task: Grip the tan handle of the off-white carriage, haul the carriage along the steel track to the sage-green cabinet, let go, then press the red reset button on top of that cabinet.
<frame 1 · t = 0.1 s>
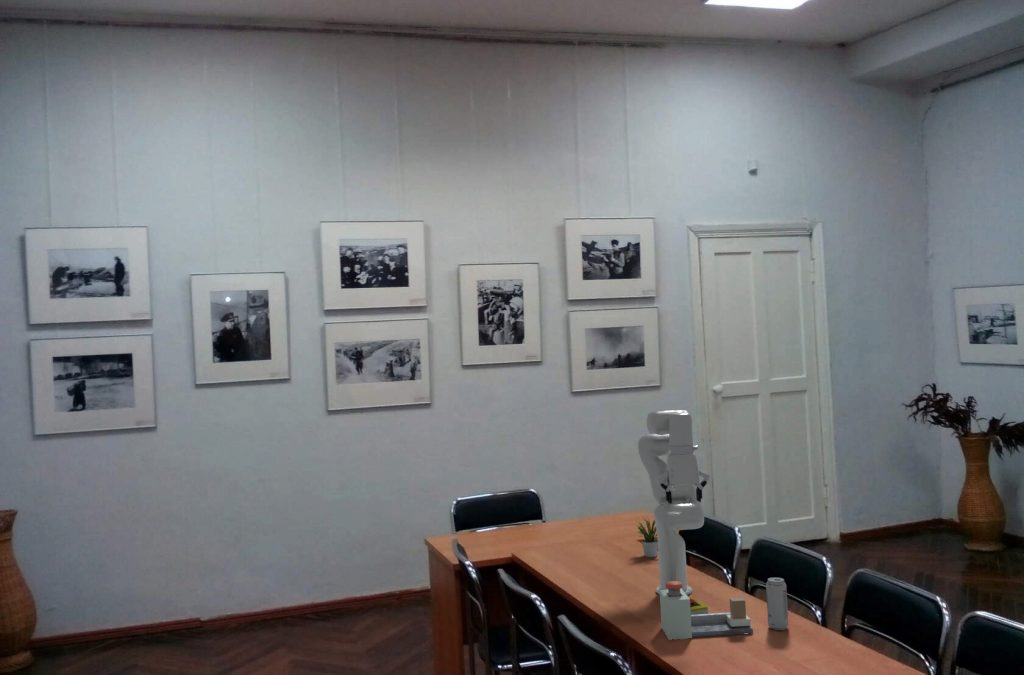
hand: (684, 502, 287), 37 cm above the table, tool pointing down, fingers open, 9 cm apart
energy drink can: (778, 628, 268), on the table
emergency button: (688, 613, 289), on the table
track: (718, 630, 269), on the table
house plant: (653, 555, 363), on the table
reset button: (674, 593, 268), point 12 cm above the table, slide at 0.0 cm
carriage: (738, 611, 269), point 6 cm above the table, slide at 0.0 cm
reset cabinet: (676, 633, 268), on the table
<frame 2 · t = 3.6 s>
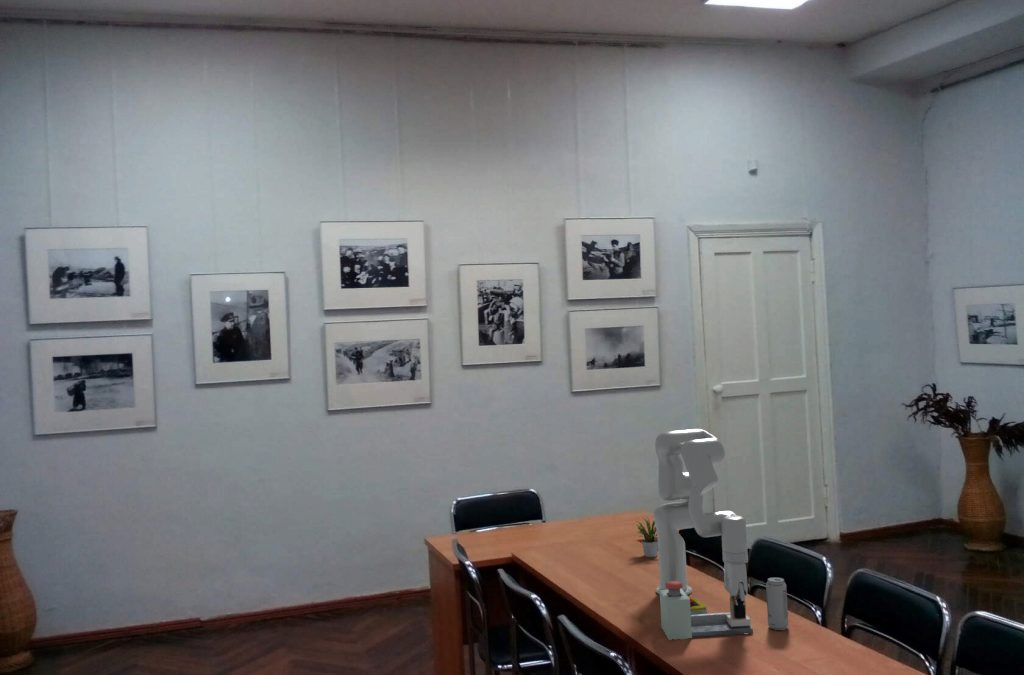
hand: (738, 615, 269), 4 cm above the table, tool pointing down, fingers closed on carriage, 3 cm apart
carriage: (738, 611, 269), point 6 cm above the table, slide at 0.0 cm, touching gripper
everything else where it was.
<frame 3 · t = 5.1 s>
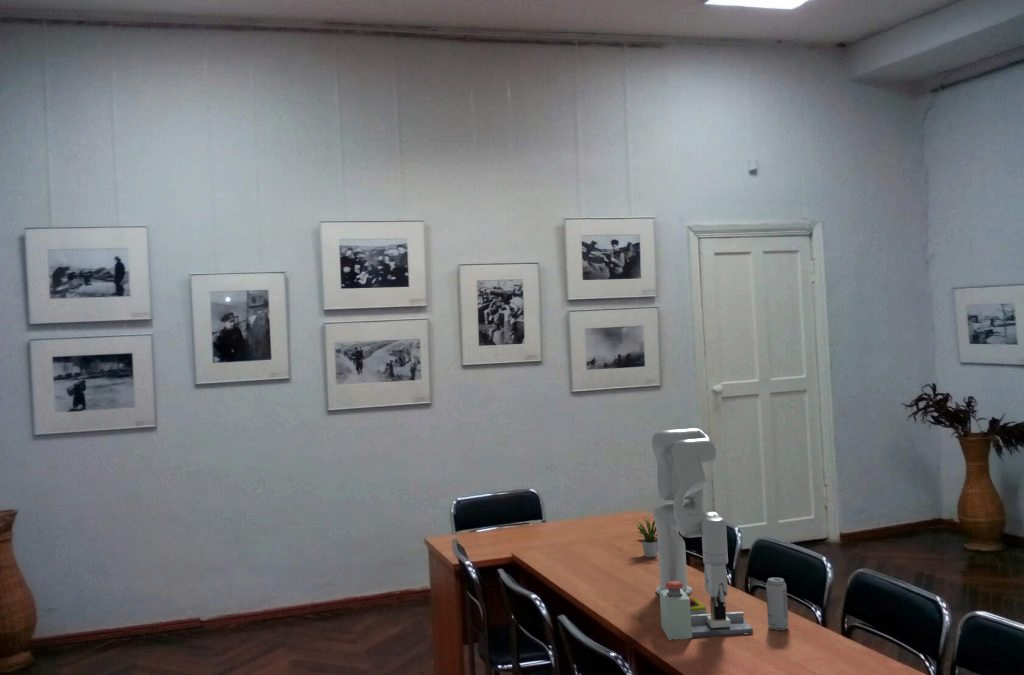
hand: (718, 616, 269), 4 cm above the table, tool pointing down, fingers closed on carriage, 3 cm apart
carriage: (718, 612, 269), point 6 cm above the table, slide at 6.2 cm, touching gripper
everything else where it was.
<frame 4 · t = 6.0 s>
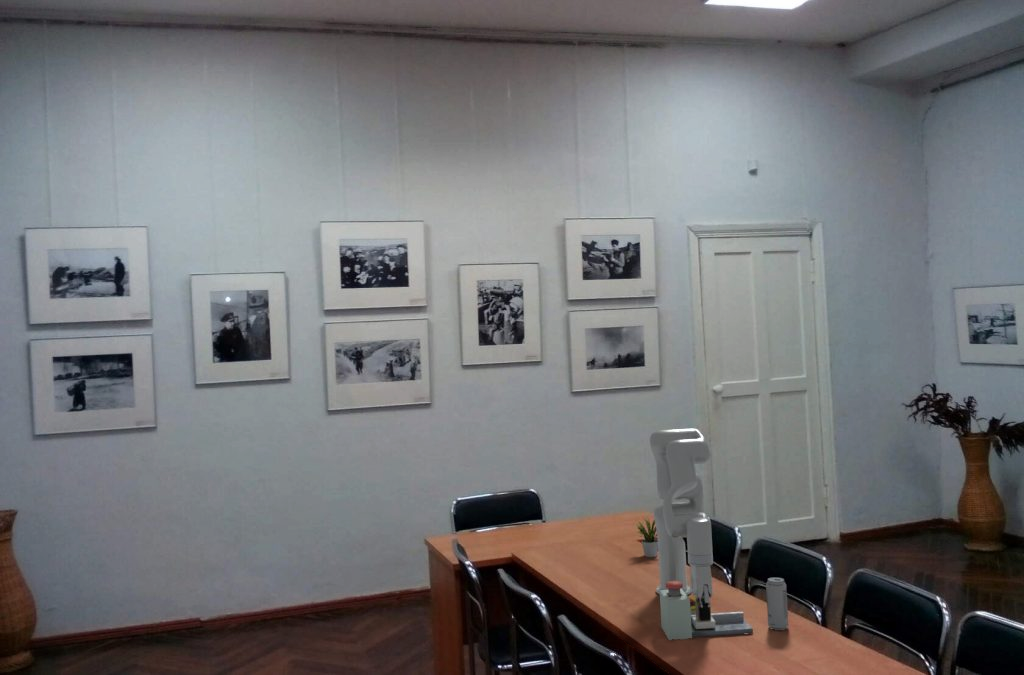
hand: (703, 617, 269), 4 cm above the table, tool pointing down, fingers closed on carriage, 3 cm apart
carriage: (703, 613, 269), point 6 cm above the table, slide at 10.9 cm, touching gripper
everything else where it was.
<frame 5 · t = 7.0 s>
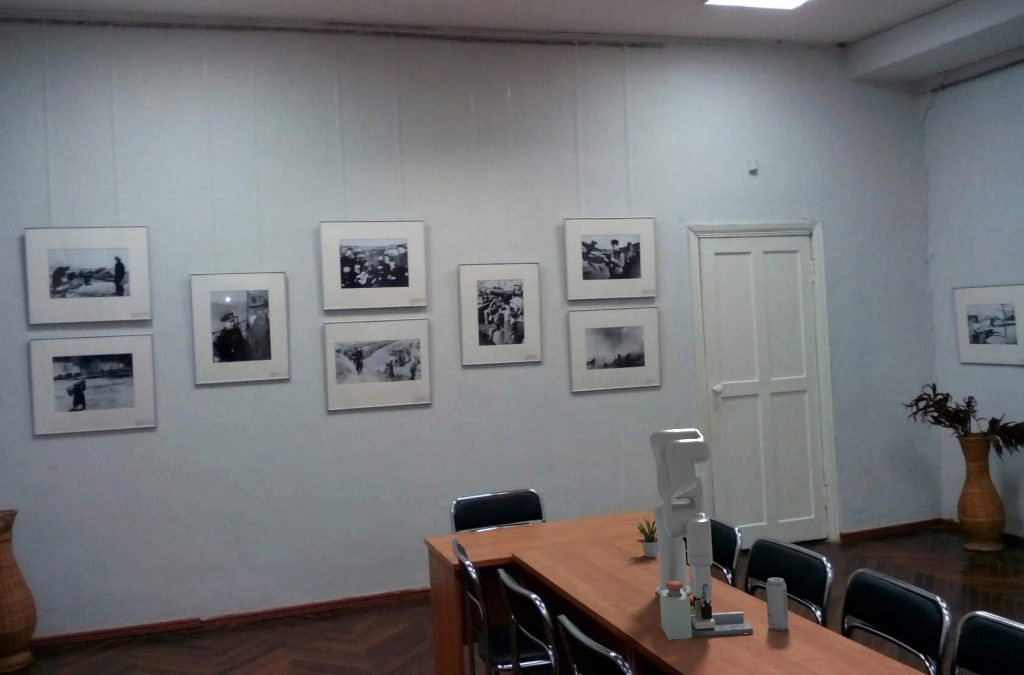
hand: (702, 613, 269), 6 cm above the table, tool pointing down, fingers open, 9 cm apart
carriage: (702, 613, 269), point 6 cm above the table, slide at 11.0 cm
everything else where it was.
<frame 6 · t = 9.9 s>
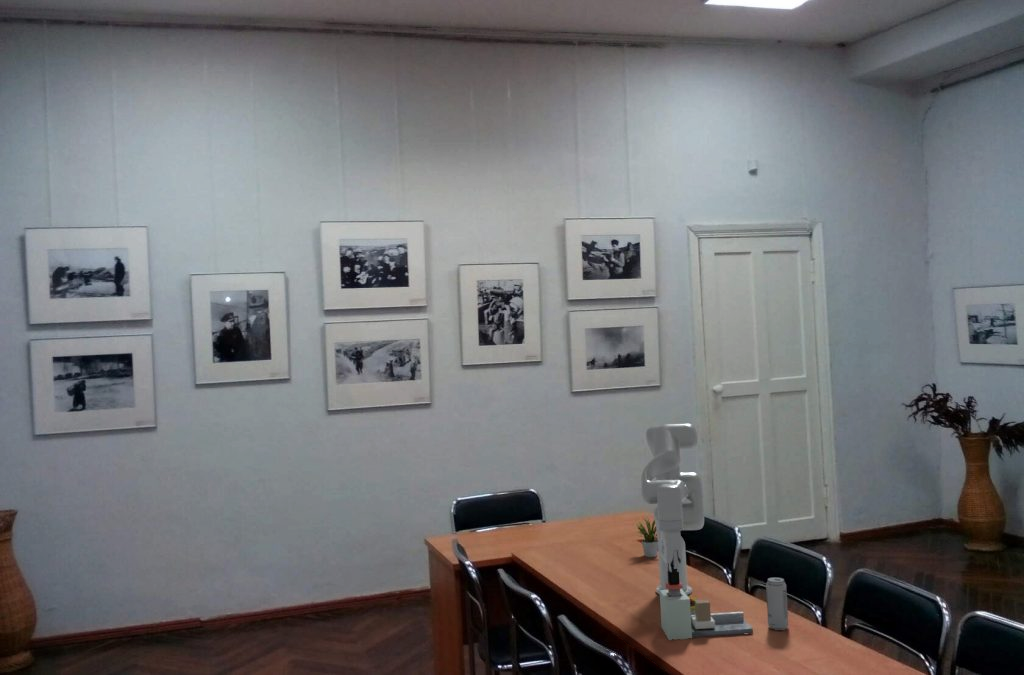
hand: (673, 583, 268), 15 cm above the table, tool pointing down, fingers closed
reset button: (674, 593, 268), point 12 cm above the table, slide at 0.1 cm, touching gripper
everything else where it was.
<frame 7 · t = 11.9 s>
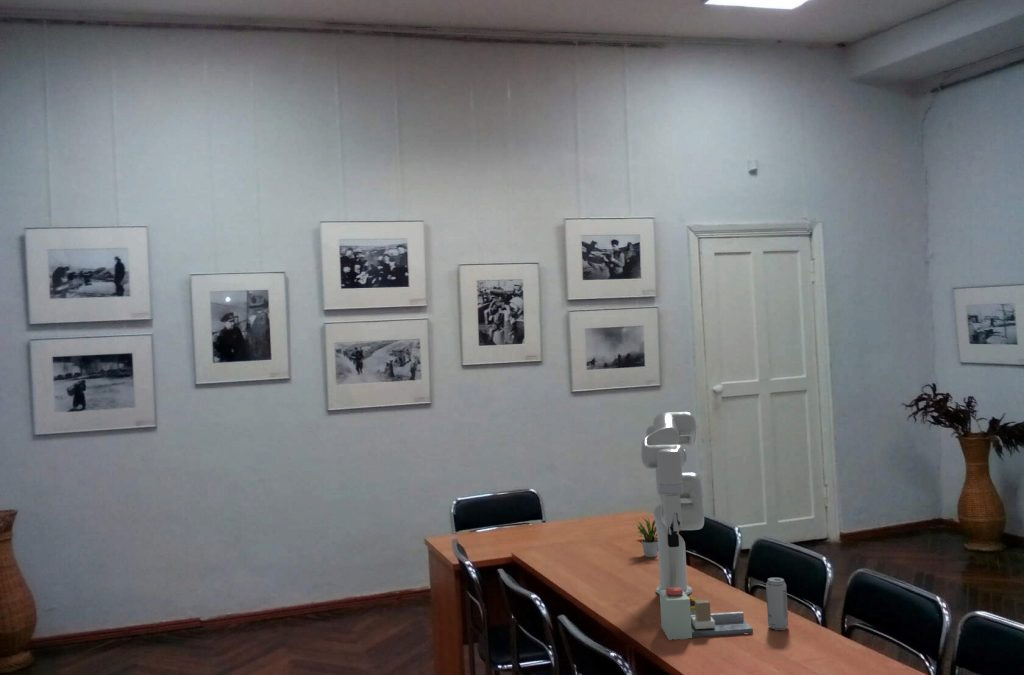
hand: (673, 546, 273), 26 cm above the table, tool pointing down, fingers closed
reset button: (674, 599, 268), point 11 cm above the table, slide at 1.8 cm
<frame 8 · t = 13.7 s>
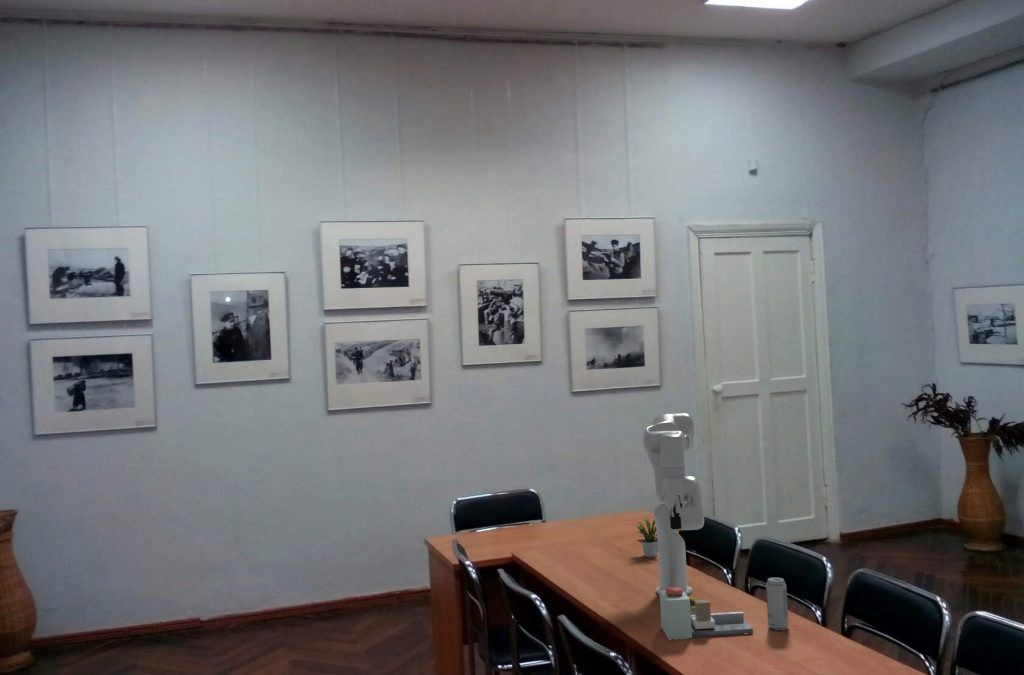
hand: (675, 528, 283), 29 cm above the table, tool pointing down, fingers closed
at the end: carriage slide at 11.0 cm; reset button slide at 1.8 cm; the gripper is holding nothing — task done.
